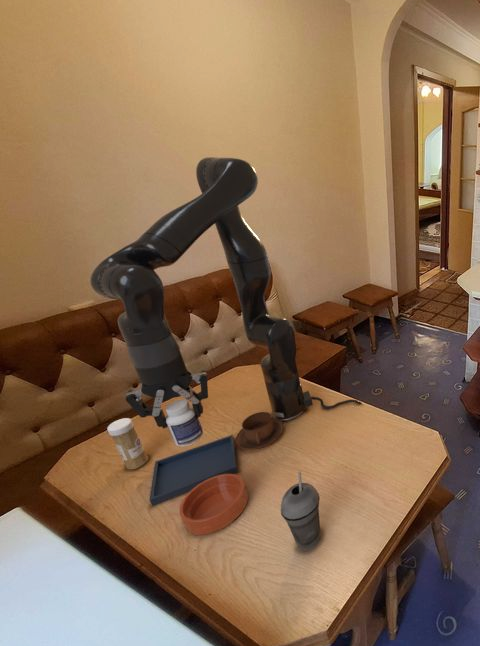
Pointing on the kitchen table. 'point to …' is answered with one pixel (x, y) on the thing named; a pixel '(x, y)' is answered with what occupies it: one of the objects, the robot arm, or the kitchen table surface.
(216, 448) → the tray
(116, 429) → the sprinkles bottle
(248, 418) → the cup and saucer
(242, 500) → the bowl
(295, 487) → the beverage cup
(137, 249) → the robot arm
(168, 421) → the pill bottle
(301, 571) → the kitchen table surface
